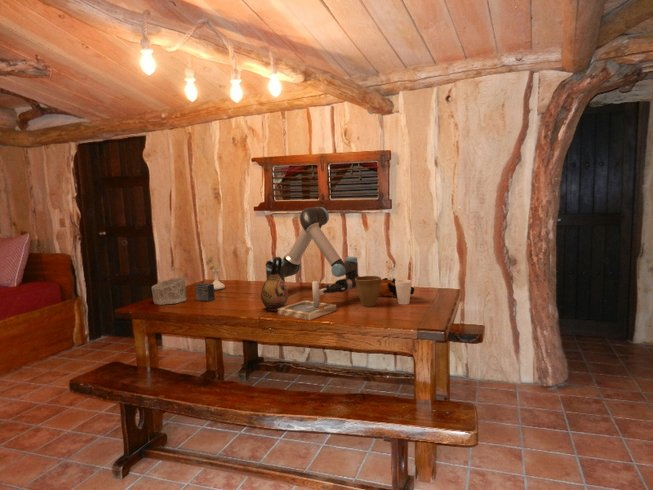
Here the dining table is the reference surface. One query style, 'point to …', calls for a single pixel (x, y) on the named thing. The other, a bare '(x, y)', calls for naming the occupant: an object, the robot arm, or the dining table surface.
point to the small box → (204, 292)
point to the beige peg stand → (316, 302)
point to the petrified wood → (169, 291)
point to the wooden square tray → (321, 311)
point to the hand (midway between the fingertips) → (318, 292)
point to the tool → (389, 288)
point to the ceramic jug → (274, 287)
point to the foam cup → (403, 291)
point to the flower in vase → (216, 282)
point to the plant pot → (368, 289)
